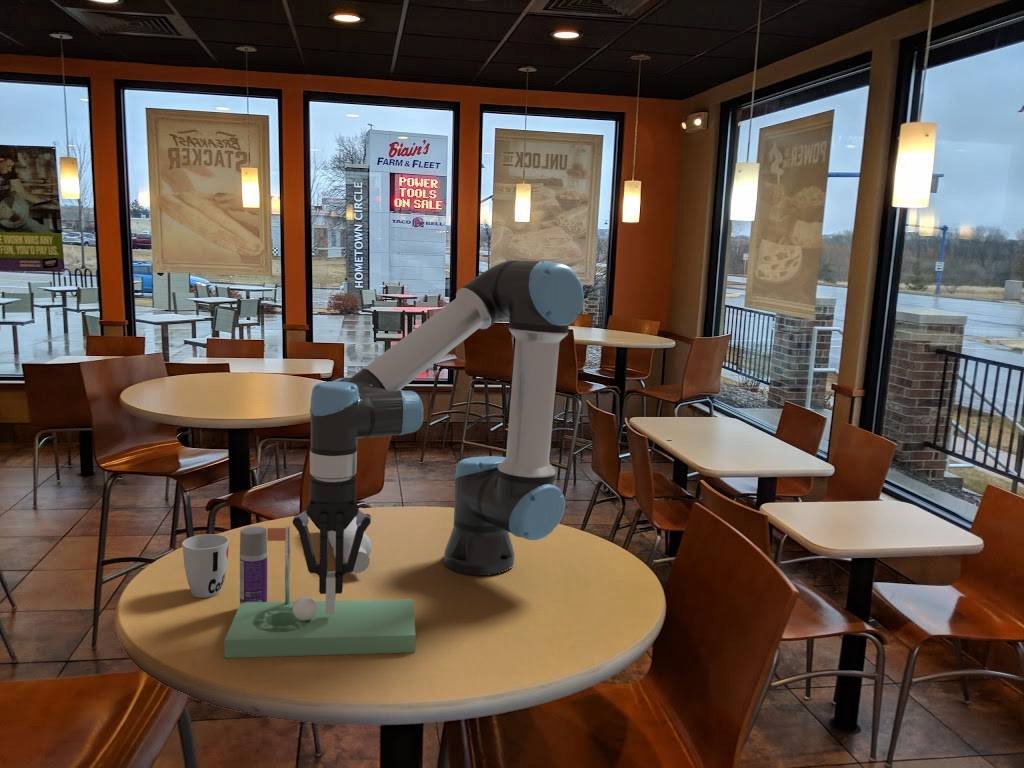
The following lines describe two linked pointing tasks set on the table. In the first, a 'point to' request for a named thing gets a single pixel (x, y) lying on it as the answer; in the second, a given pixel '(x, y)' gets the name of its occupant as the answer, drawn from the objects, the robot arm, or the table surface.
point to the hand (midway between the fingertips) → (330, 610)
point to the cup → (205, 563)
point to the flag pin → (284, 535)
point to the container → (253, 564)
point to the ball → (304, 608)
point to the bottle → (349, 535)
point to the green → (322, 629)
